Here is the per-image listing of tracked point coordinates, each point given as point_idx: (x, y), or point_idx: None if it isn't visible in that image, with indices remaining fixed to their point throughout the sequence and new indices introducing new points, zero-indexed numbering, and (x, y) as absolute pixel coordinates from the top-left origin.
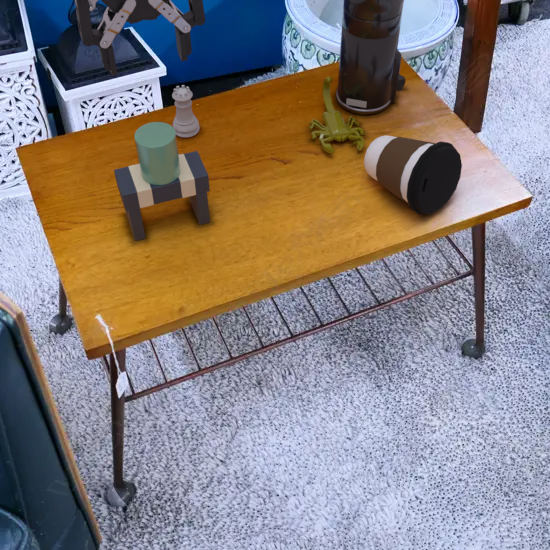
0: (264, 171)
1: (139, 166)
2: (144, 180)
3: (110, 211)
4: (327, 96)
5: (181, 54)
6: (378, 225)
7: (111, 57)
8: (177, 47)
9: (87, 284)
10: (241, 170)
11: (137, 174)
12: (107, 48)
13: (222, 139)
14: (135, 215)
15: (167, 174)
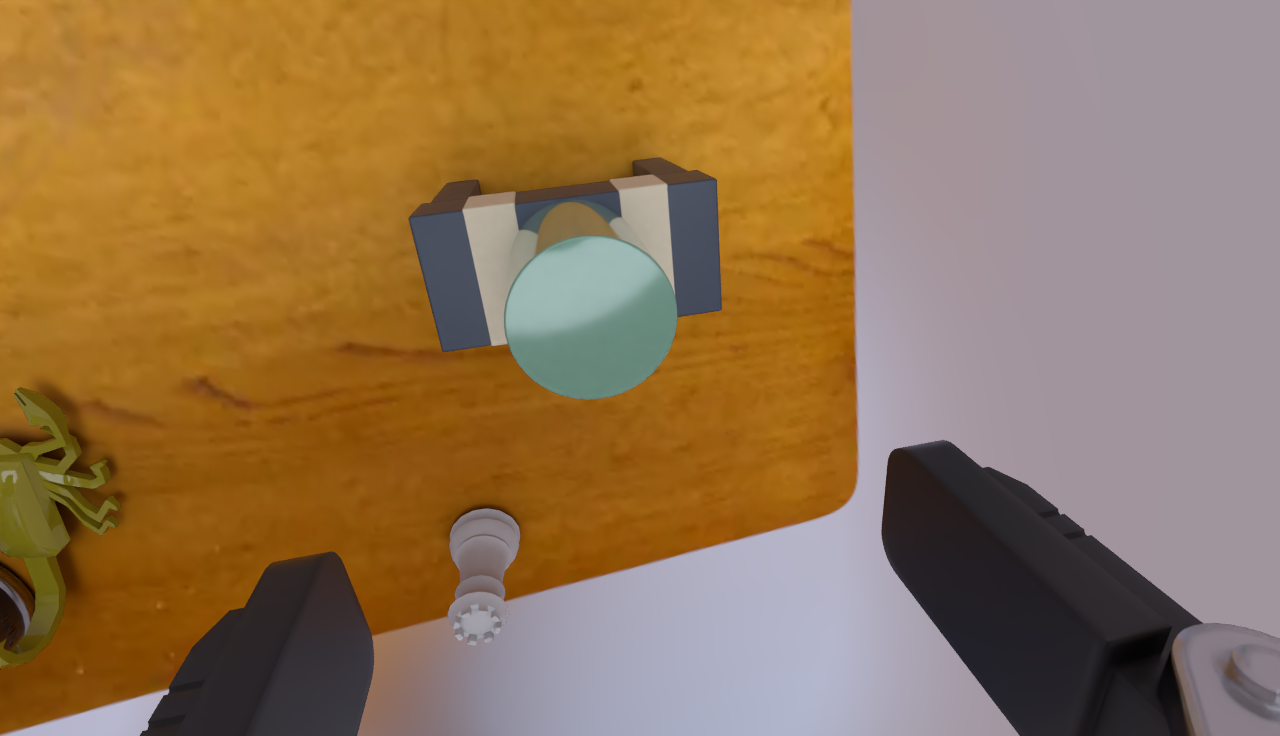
0: (271, 360)
1: None
2: None
3: None
4: (45, 609)
5: (305, 599)
6: None
7: (1041, 543)
8: (357, 696)
9: (804, 19)
10: (342, 374)
11: None
12: (1168, 625)
13: (392, 493)
14: (665, 170)
15: (557, 210)
